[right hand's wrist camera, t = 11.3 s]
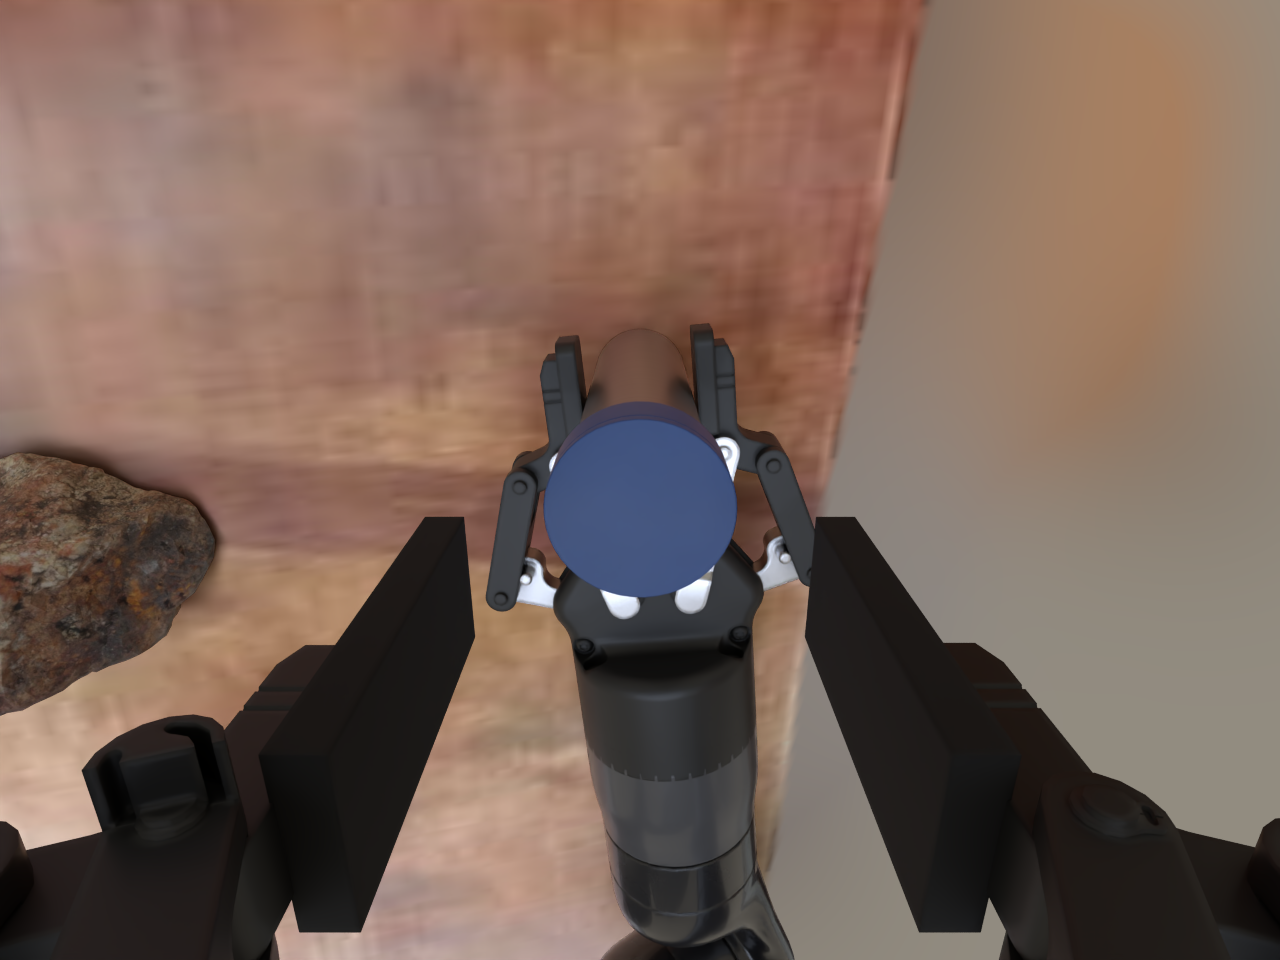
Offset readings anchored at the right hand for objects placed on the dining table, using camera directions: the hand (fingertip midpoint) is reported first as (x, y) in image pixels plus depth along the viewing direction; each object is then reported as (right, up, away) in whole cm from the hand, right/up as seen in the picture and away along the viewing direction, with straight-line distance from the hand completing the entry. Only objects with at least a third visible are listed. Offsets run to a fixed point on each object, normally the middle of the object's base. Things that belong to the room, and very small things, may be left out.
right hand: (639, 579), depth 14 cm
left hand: (0, +7, +11) cm, 13 cm away
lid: (0, +1, +3) cm, 4 cm away
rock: (-28, -1, +21) cm, 35 cm away
